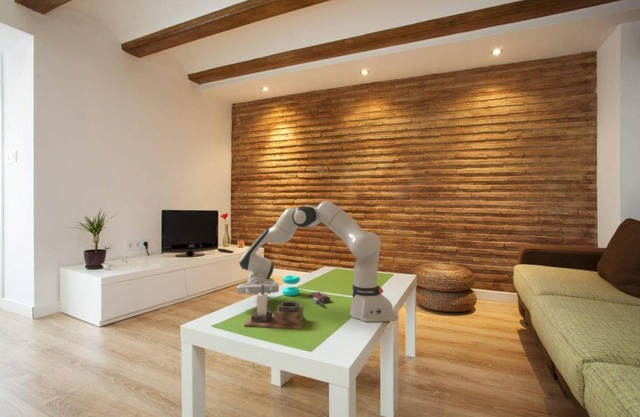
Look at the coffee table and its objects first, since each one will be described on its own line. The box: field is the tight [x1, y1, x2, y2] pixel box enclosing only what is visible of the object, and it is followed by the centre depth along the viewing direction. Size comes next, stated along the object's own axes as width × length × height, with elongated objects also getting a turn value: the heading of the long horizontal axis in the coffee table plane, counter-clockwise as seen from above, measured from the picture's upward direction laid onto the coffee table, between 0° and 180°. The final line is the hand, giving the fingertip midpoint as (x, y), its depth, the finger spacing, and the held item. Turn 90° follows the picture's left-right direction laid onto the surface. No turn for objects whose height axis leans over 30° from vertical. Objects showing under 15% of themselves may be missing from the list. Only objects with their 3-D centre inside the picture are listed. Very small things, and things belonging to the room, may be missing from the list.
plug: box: [256, 285, 268, 316], centre depth 140 cm, size 4×5×15 cm
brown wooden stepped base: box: [243, 301, 305, 330], centre depth 140 cm, size 24×13×8 cm, turn 86°
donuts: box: [282, 275, 301, 297], centre depth 184 cm, size 10×10×10 cm
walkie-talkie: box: [309, 291, 331, 307], centre depth 170 cm, size 9×4×20 cm
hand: (259, 292), depth 151 cm, fingers open, 8 cm apart
